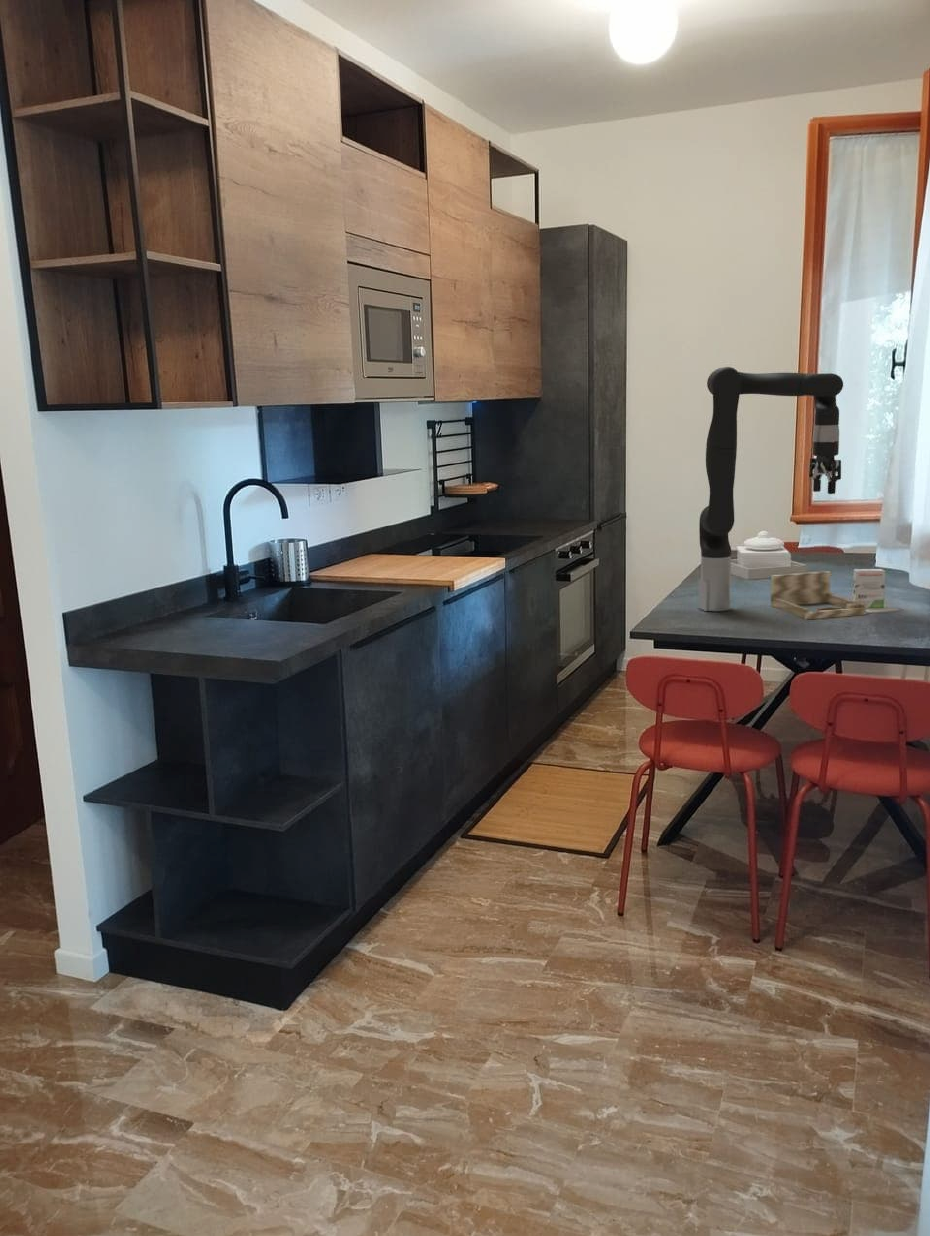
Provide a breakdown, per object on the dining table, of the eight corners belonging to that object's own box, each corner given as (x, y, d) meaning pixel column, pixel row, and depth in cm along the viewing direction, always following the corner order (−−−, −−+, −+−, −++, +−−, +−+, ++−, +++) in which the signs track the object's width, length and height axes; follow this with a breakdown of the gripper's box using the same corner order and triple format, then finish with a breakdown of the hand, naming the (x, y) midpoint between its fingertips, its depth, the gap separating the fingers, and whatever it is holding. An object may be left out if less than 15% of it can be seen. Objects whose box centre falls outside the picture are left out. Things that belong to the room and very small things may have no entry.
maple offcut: (849, 615, 306) (850, 605, 306) (845, 613, 309) (846, 604, 308) (858, 614, 307) (859, 604, 306) (854, 612, 309) (855, 603, 308)
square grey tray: (748, 579, 370) (748, 569, 369) (720, 570, 392) (720, 560, 391) (806, 575, 374) (806, 564, 373) (775, 566, 396) (775, 556, 396)
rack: (805, 619, 302) (807, 586, 300) (770, 606, 323) (771, 575, 321) (865, 614, 306) (867, 582, 304) (827, 601, 327) (828, 571, 325)
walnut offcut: (819, 608, 307) (817, 607, 309) (819, 615, 308) (817, 614, 309) (841, 607, 308) (839, 606, 309) (841, 614, 308) (839, 613, 310)
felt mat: (863, 613, 307) (863, 612, 307) (838, 605, 320) (838, 604, 320) (899, 610, 309) (899, 609, 309) (872, 602, 323) (872, 601, 322)
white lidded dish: (790, 576, 373) (791, 533, 370) (740, 576, 376) (741, 534, 373) (783, 568, 390) (784, 527, 387) (735, 568, 393) (736, 528, 390)
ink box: (880, 605, 316) (882, 568, 314) (883, 608, 312) (885, 570, 309) (851, 605, 318) (853, 568, 316) (854, 608, 313) (856, 571, 311)
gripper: (802, 440, 315) (801, 491, 319) (827, 441, 302) (825, 495, 305) (824, 438, 317) (822, 490, 320) (850, 440, 303) (847, 494, 306)
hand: (824, 492), depth 313 cm, fingers open, 8 cm apart
